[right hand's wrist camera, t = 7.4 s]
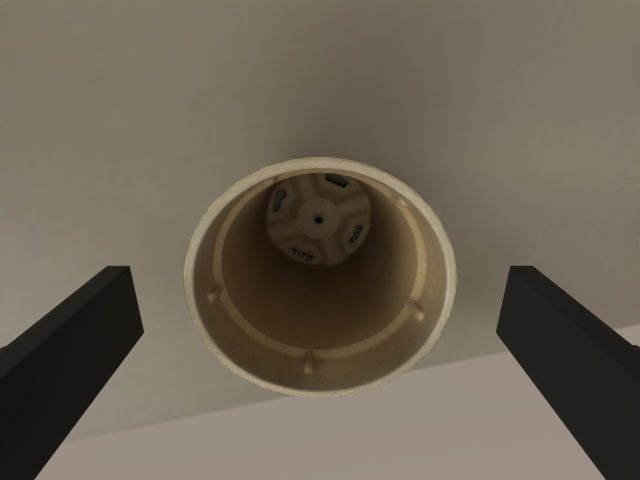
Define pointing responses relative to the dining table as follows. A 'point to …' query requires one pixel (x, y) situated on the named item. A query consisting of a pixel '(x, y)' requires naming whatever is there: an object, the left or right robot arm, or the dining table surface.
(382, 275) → the plant pot
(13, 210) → the dining table surface
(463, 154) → the dining table surface
